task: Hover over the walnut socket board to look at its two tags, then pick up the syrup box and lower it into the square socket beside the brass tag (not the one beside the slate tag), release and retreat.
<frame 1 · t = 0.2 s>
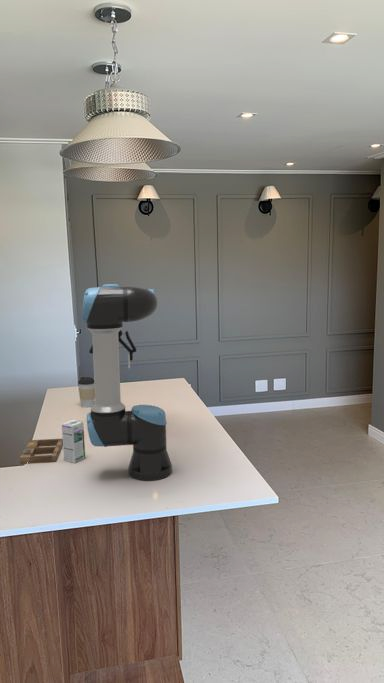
hand: (113, 368, 215), 28 cm above the worktop, fingers open, 13 cm apart
coffee cup: (87, 406, 259), on the worktop
socket board: (42, 453, 191), on the worktop
syrup box: (74, 459, 185), on the worktop
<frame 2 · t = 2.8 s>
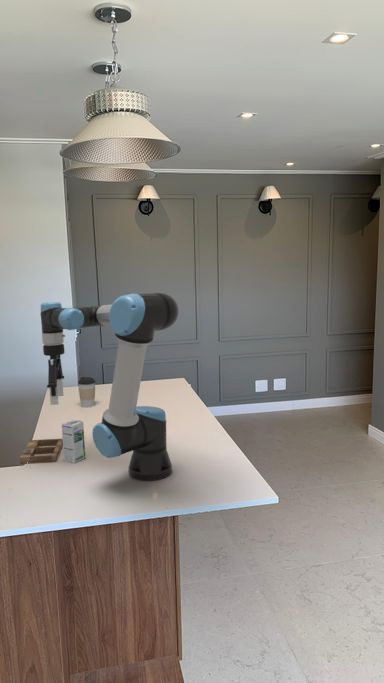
hand: (57, 400, 184), 22 cm above the worktop, fingers open, 13 cm apart
nothing on the worktop moved.
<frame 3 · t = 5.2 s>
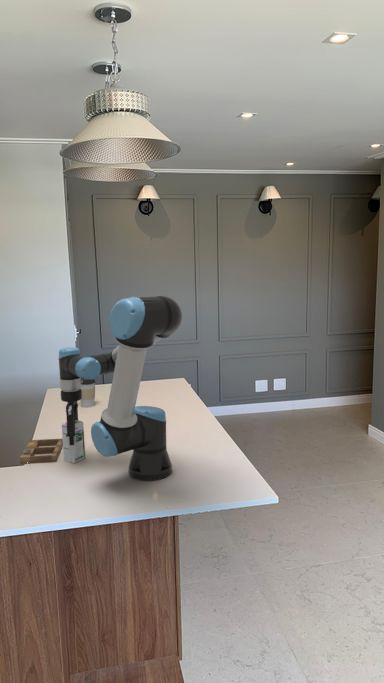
hand: (74, 448, 184), 4 cm above the worktop, fingers closed on syrup box, 8 cm apart
syrup box: (74, 459, 185), on the worktop, touching gripper
everything else where it was.
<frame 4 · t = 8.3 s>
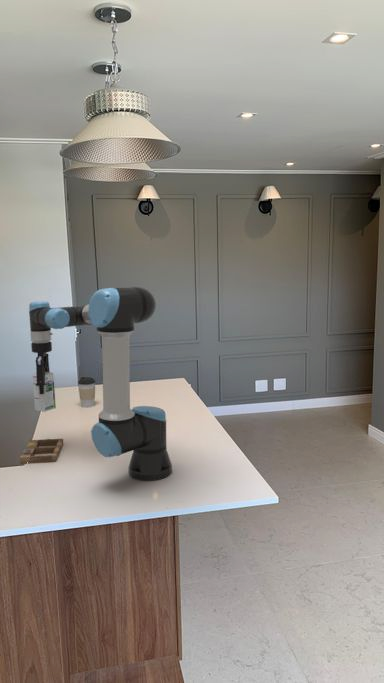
hand: (44, 399, 193), 21 cm above the worktop, fingers closed on syrup box, 8 cm apart
syrup box: (45, 409, 193), point 16 cm above the worktop, touching gripper
everything else where it was.
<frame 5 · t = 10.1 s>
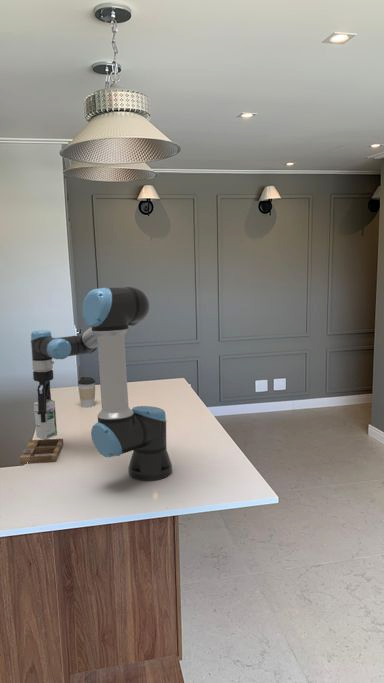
hand: (46, 426, 194), 9 cm above the worktop, fingers closed on syrup box, 8 cm apart
syrup box: (46, 437, 195), point 5 cm above the worktop, touching gripper
everything else where it was.
when the fingers open (5 cm above the worktop, at t = 11.5 s): syrup box stays where it is, resting in socket board.
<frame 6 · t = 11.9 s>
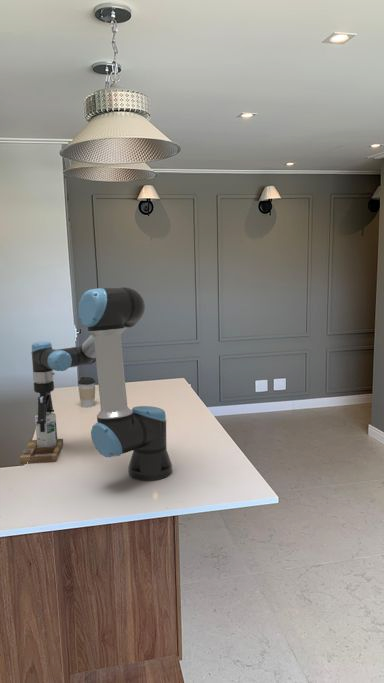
hand: (46, 433, 195), 6 cm above the worktop, fingers open, 13 cm apart
syrup box: (47, 449, 196), resting in socket board
everything else where it was.
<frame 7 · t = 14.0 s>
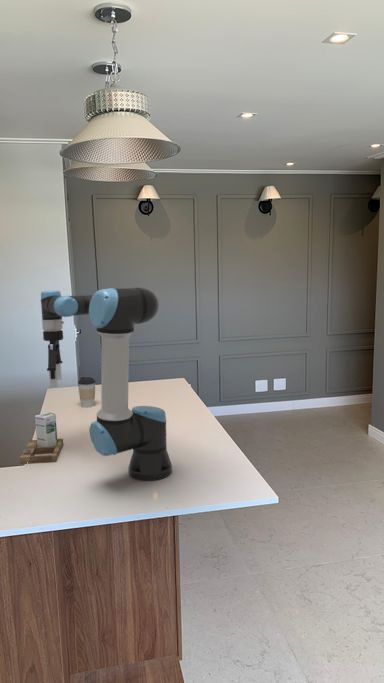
hand: (56, 383, 195), 26 cm above the worktop, fingers open, 13 cm apart
nothing on the worktop moved.
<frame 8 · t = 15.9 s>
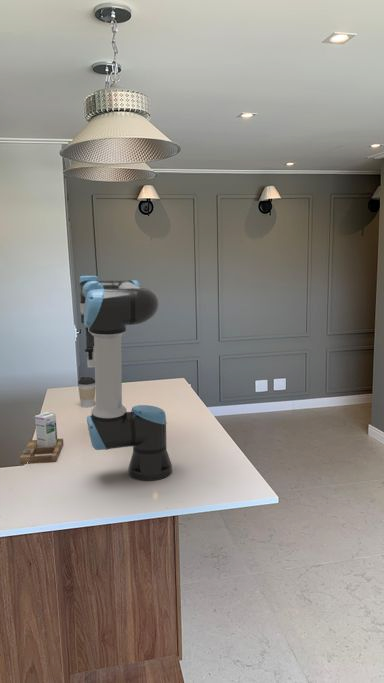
hand: (92, 364, 205), 32 cm above the worktop, fingers open, 13 cm apart
nothing on the worktop moved.
at the end: syrup box 0.0 cm from the target spot on the socket board, point 0.0 cm above the socket board's base; syrup box tilted 0°; the gripper is holding nothing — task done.
